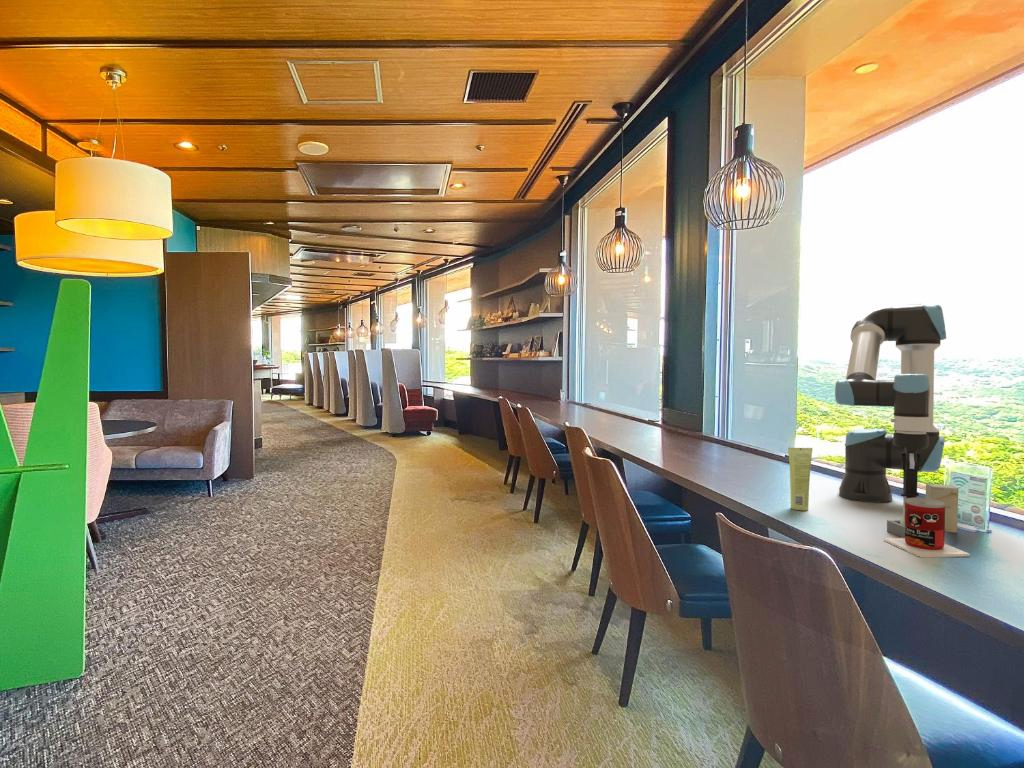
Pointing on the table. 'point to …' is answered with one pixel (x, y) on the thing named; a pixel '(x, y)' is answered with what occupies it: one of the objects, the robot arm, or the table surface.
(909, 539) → the canned food
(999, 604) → the table surface
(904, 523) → the button
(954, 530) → the skincare box
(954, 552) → the paper pad
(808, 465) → the tube
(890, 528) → the button box
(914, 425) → the robot arm
